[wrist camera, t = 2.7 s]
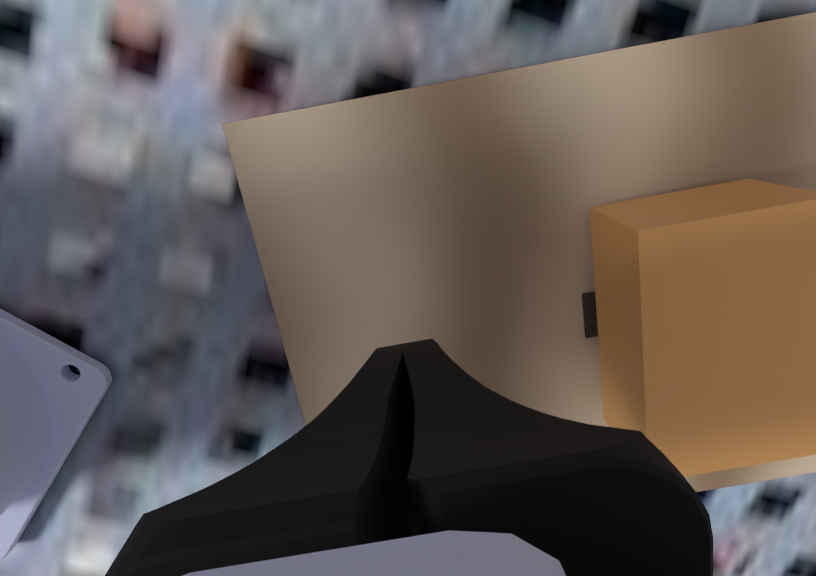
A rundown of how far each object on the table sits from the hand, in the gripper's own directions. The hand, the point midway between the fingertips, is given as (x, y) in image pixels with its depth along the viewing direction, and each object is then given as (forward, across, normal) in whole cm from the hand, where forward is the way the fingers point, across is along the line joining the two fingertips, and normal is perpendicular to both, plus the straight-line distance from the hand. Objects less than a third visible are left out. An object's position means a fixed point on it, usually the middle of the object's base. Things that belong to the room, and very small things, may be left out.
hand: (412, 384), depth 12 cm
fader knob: (+2, -6, 0) cm, 7 cm away
